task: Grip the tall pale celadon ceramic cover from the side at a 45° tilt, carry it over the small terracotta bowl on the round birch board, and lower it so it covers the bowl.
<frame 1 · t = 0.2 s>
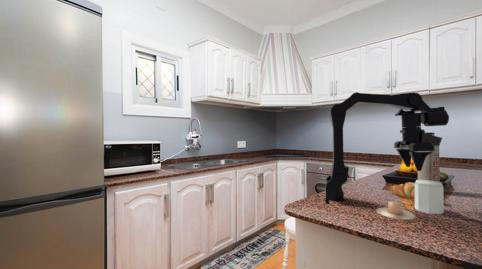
hand: (413, 168, 83), 15 cm above the counter, tool pointing down, fingers open, 9 cm apart
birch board: (395, 216, 74), on the counter
thermos bottle: (428, 191, 106), on the counter
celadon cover: (428, 213, 77), on the counter
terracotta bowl: (395, 212, 74), point 1 cm above the counter, touching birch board
croissant: (413, 198, 95), on the counter
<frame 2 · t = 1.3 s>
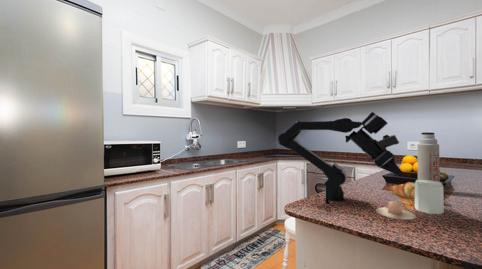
hand: (400, 173, 80), 13 cm above the counter, tool tilted 45°, fingers open, 9 cm apart
nothing on the counter moved.
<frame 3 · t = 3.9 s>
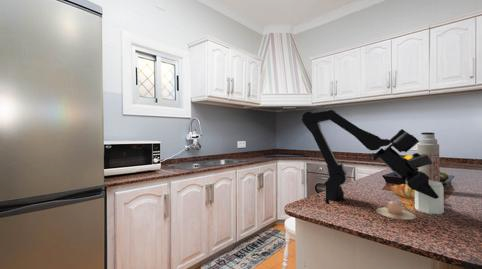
hand: (433, 195, 76), 7 cm above the counter, tool tilted 45°, fingers closed on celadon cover, 7 cm apart
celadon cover: (428, 213, 77), on the counter, touching gripper
everything else where it was.
when the fingers open (9 cm above the counter, at t = 8.0 s): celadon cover drops 1 cm, resting on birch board.
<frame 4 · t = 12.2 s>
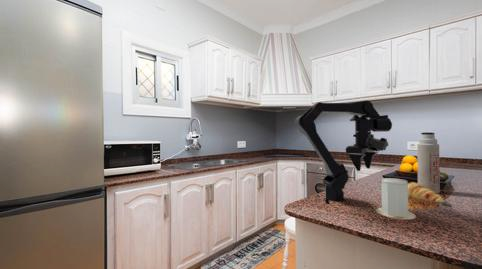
hand: (363, 169, 91), 13 cm above the counter, tool pointing down, fingers open, 9 cm apart
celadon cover: (394, 212, 74), point 1 cm above the counter, touching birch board
at the end: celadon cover 0.1 cm from the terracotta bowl (horizontally); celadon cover point 1.2 cm above the counter; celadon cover tilted 0° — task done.
